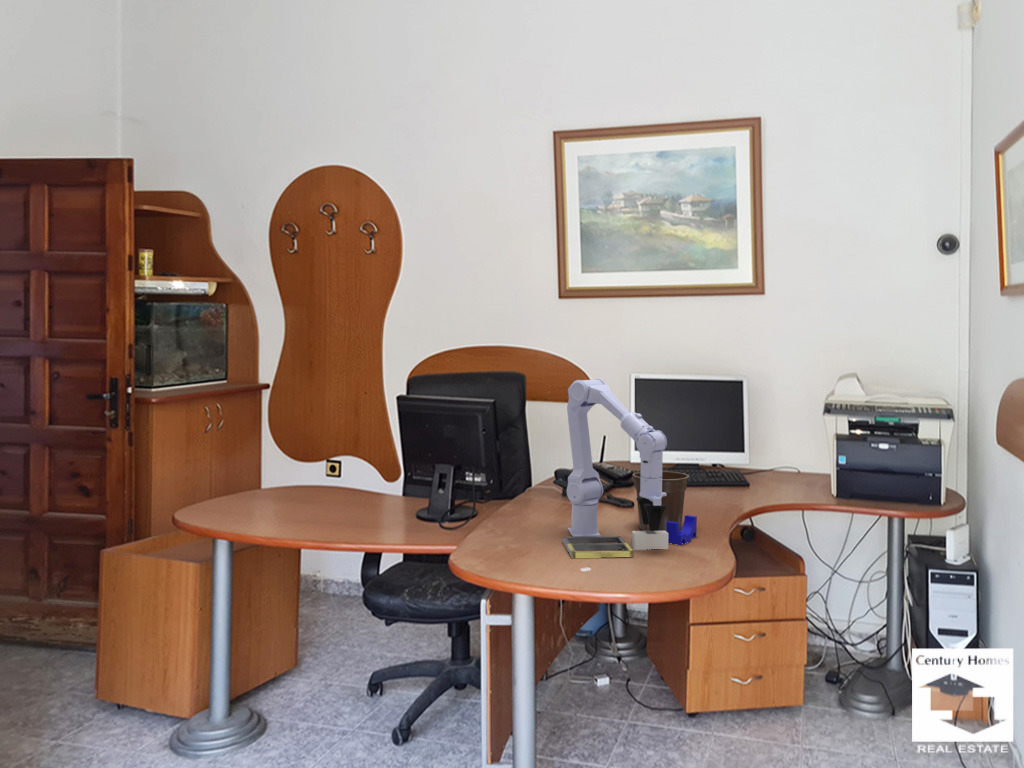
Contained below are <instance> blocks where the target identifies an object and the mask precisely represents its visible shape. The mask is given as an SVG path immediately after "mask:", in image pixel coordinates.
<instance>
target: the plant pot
mask: <svg viewBox="0 0 1024 768" xmlns="http://www.w3.org/2000/svg"><path fill="white" fill-rule="evenodd" d="M640 477H641V471H638V472H634V473H632V478H633V481H634V487H635V488H634V489H635V490H636V491H635V492H636V498H642V497H641V496H640ZM689 478H690V475H689V474H687V473H684V472H678V471H669V470H667V471H666V470H662V492H665V493H666V496H663V497H662V498H661V505H666V509H665V511H664V512H663V515H662V517H661V521H660V526H659V529H658V531H666V530H667V522H668V521H671V522H678V523H679V528H680V531H681V529H682V527H683V525H682V522H683V515H684V514H683V512H684V505H685V504H684V503H685V497H686V496H685V493H686V490H687V486H688V479H689ZM636 501H637V500H636ZM636 503H637V513H638V523H639V524H638V526H639V527H638V528H639V529H640V531H644V530H650V529H649V524H643V520H642V515H641V510H640V506H639V504H638V501H637V502H636Z"/></svg>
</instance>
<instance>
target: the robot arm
mask: <svg viewBox="0 0 1024 768" xmlns="http://www.w3.org/2000/svg"><path fill="white" fill-rule="evenodd" d="M567 393H568V402H567V405H566V411H567V423H568V431H569V438H570V446H571V447H570V449H571V458H572V467H573V469H572V471H571V473H570V474H569V475H568V476H567V487H566V496H567V499H569V501H570V504H571V527H567V530H568V531H569V533H570V535H571V537H601V534H600V532H599V531H598V503H599V502H600V498H601V497H603V494H604V487H603V486H604V485H603V483H602V482H601V479H600V474H599V472H597V470H596V469H595V468H593V467H594V466H593V457H592V448H591V447H592V446H591V438H590V430H589V421H588V420H589V419H588V413H589V411H591V409H592V408H593V407H594V406H595V405H598V404H599V405H602V406H603V408H605V409H606V410H607V411H609V413H611V415H613V416H614V417H615V418H617V419H618V420H619V421H620V427H621V429H623V431H624V432H625V433H626V434H627V435H628V436H629V437H630V438H631V439H632V440H633V441H634V442H635V447H636V448H637V451H638V453H639V458H640V472H641V477H640V496H641V497H642V498H637V497H636V498H635V499H636V501H638V503H637V505H638V504H639V506H640V510H641V515H642V520H643V524H649V529H650V531H658V529H659V526H660V521H661V517H662V515H663V512H664V511H665V509H666V505H661V498H662V497H663V496H666V493H665V492H662V471H663V456H664V455H663V452H664V451H665V450H666V448H667V445H668V440H667V436H666V435H665V434H664V432H663V431H662V430H658V429H657V430H656V429H654V426H652V425H649V423H648V422H647V421H645V420H644V418H643V415H642V414H641V413H637V412H635V411H634V412H633V411H632V412H630V411H629V410H628V409H627V407H626V406H625V405H624V404H623V403H622V402H621V401H620V400H619V399H618V397H617V396H616V395H615V394H614V393H613V392H612V391H611V387H610V386H609V385H608V384H606V382H605V381H604V380H603V379H600V378H595V379H583V380H582V379H576V380H574V381H572V384H570V386H569V387H568V389H567Z"/></svg>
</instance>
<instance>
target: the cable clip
mask: <svg viewBox="0 0 1024 768" xmlns="http://www.w3.org/2000/svg"><path fill="white" fill-rule="evenodd" d="M697 517H698V516H696V515H689V514H687V515H684V518H683V519H684V520H683V525H682V527H681V530H680V528H679V523H678V522H671V521H668V522H667V530H666V532H667V533H668V543H672V544H671V545H674V544H678V545H677V546H679V545H682V543H683V544H684V545H686V544H685V543H687V542H689V543H691V542H692V539H694V538H693V537H695V538H697V522H698V521H697V520H698V519H697ZM691 538H692V539H691ZM690 541H691V542H690ZM687 544H688V543H687ZM682 546H683V545H682Z"/></svg>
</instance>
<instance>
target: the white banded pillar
mask: <svg viewBox="0 0 1024 768" xmlns="http://www.w3.org/2000/svg"><path fill="white" fill-rule="evenodd" d="M632 547H633V548H634V549H633V548H632ZM631 548H632V549H633V551H652V550H651V549H668V550H669V544H668V533H667V532H666V531H650V530H644V531H643V530H632V532H631ZM647 549H648V550H647ZM649 549H650V550H649Z"/></svg>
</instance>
